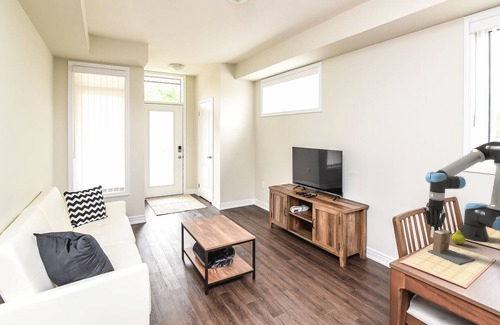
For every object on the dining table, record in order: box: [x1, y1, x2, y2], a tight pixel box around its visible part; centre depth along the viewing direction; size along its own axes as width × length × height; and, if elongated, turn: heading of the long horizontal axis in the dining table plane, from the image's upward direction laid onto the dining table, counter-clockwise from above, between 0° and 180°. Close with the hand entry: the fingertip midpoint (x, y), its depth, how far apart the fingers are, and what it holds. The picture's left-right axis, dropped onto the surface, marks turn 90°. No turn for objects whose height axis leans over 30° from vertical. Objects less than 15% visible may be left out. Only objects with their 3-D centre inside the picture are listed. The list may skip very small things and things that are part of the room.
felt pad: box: [427, 249, 475, 266], centre depth 155 cm, size 14×17×1 cm
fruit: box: [451, 224, 467, 245], centre depth 171 cm, size 7×7×12 cm
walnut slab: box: [432, 228, 451, 253], centre depth 160 cm, size 8×4×12 cm, turn 113°
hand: (433, 236), depth 164 cm, fingers closed
